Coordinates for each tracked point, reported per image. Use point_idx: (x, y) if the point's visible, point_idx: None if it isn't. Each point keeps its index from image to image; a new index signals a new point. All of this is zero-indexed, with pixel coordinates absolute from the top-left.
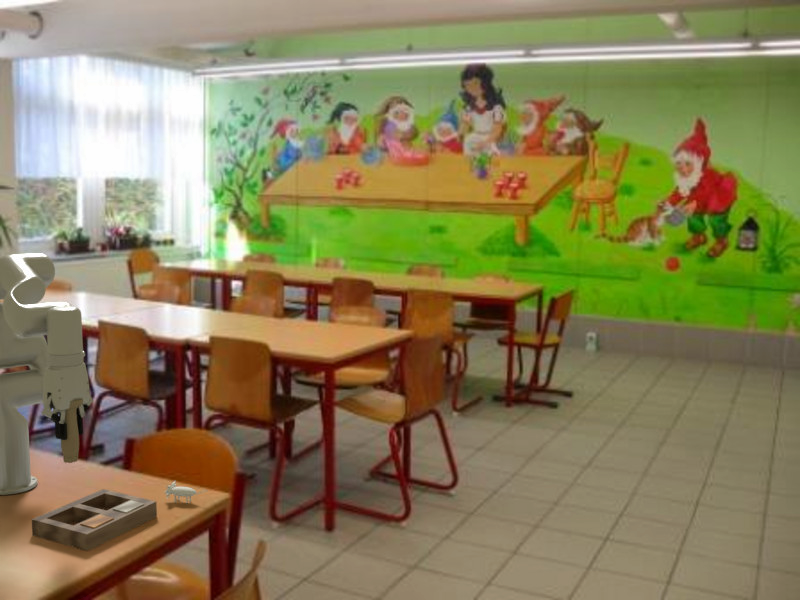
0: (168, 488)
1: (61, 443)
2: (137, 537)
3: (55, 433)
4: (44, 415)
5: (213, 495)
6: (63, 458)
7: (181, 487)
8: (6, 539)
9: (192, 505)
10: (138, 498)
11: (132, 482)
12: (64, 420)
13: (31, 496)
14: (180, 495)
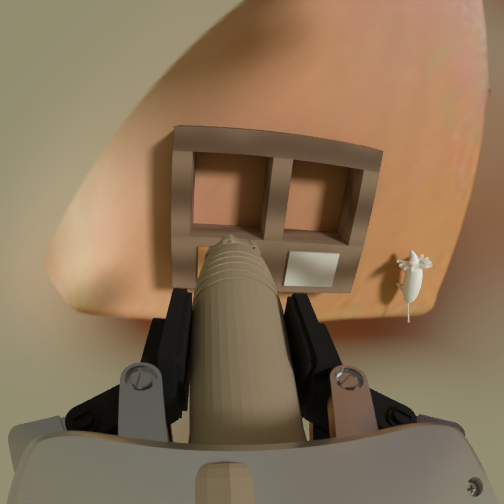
0: (410, 268)
1: (196, 288)
2: None
3: (152, 323)
4: (31, 427)
5: (427, 295)
6: (205, 255)
7: (415, 285)
8: (145, 95)
9: (391, 294)
10: (356, 255)
11: (457, 137)
12: (171, 428)
13: None
14: (403, 281)
